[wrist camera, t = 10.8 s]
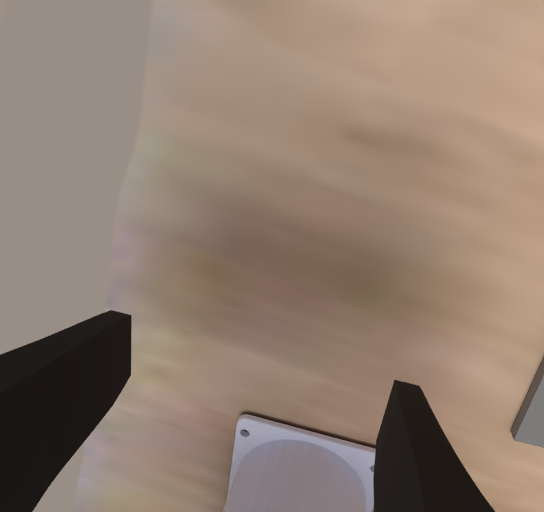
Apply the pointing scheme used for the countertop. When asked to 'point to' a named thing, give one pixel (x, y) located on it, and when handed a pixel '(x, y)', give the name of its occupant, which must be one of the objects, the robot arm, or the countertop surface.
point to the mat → (532, 414)
